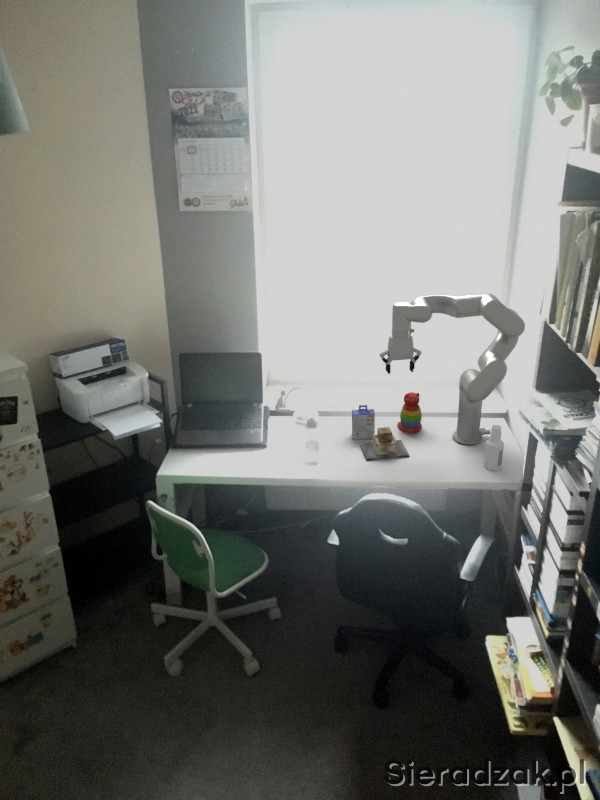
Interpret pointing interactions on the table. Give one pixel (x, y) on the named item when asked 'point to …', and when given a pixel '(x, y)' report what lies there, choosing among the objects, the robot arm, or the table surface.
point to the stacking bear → (410, 414)
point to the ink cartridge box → (363, 423)
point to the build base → (387, 456)
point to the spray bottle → (494, 450)
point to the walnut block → (384, 435)
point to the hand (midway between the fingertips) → (399, 371)
